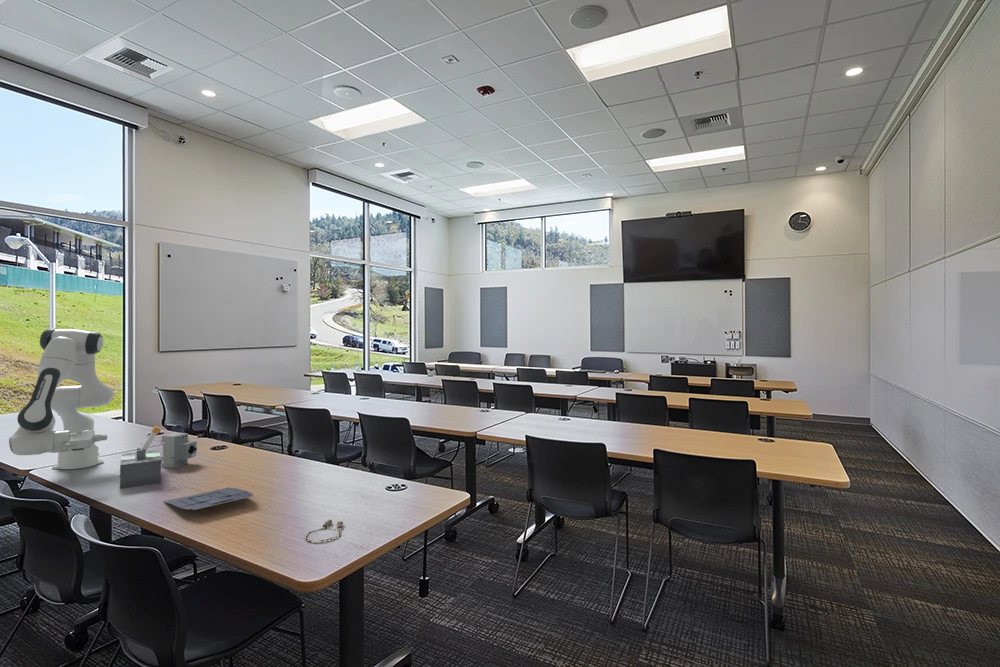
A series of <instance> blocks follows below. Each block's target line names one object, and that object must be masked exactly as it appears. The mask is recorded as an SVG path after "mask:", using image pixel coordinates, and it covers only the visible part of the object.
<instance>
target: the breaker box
mask: <svg viewBox="0 0 1000 667" xmlns="http://www.w3.org/2000/svg"><path fill="white" fill-rule="evenodd" d="M141 448H142V447H137V448H136V452H128V453H121V456H120V464H119V465H120V466H119V489H120V490H121V489H127V488H135V487H142V486H151V485H158V484H161V479H162V476H161V475H162V467H161V453H160V452H161V451H160V450H159V449H157V450H146V452H145V449H143V450H140V449H141Z"/></svg>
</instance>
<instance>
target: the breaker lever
mask: <svg viewBox="0 0 1000 667" xmlns="http://www.w3.org/2000/svg"><path fill="white" fill-rule="evenodd" d="M161 431H162V427H159V426H157V425H154V426H153V427H152V429H151V432H150V434H149V435H148V437H147V439H146V440H145V442H144V443H143V444H142V446H141V447H140V448H141V449H140V450H143V449H145V452H146V451H148V449H149V447H150V446H151V445H152V443H153V441H154V440H155V438H156V437H157V435H159V434H160V432H161Z"/></svg>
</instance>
